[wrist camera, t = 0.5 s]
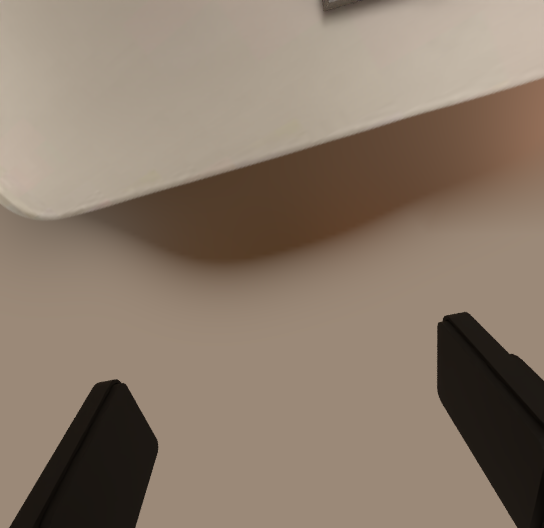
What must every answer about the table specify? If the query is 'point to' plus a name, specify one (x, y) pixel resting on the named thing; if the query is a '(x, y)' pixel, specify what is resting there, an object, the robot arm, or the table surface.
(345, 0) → the console
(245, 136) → the table surface
